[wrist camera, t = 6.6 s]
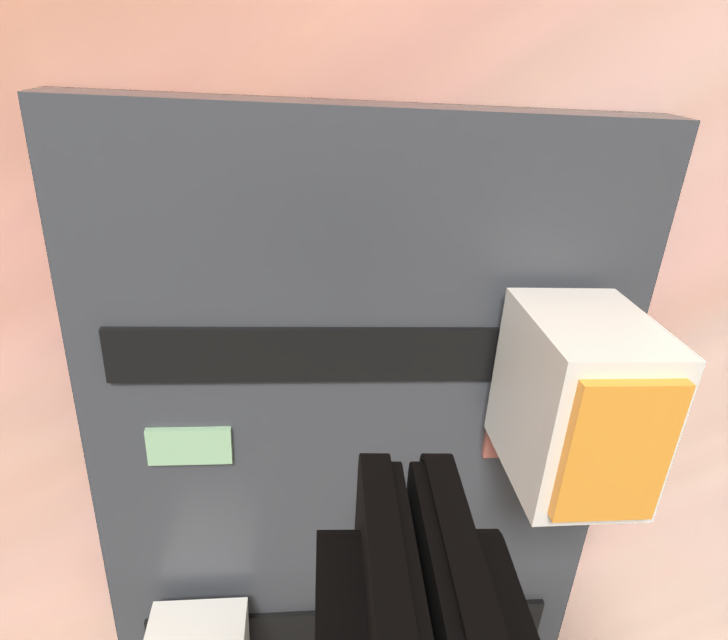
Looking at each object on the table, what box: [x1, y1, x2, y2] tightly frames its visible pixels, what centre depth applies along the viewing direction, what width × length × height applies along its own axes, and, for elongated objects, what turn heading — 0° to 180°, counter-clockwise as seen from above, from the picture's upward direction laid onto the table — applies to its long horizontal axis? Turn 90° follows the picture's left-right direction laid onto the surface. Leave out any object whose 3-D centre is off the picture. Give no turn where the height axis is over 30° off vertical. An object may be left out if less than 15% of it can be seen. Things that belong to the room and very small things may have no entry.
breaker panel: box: [17, 86, 700, 640], centre depth 20 cm, size 16×24×2 cm, turn 177°
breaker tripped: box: [484, 288, 706, 527], centre depth 15 cm, size 3×4×4 cm
